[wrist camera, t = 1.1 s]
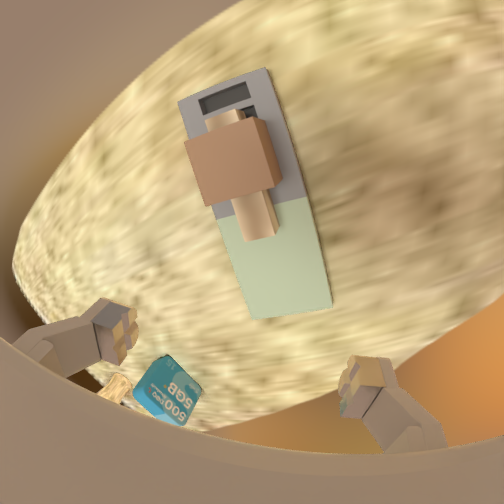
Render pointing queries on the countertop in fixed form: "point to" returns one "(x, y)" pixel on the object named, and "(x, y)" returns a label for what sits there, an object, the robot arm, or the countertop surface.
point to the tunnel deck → (253, 180)
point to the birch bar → (252, 205)
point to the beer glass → (116, 388)
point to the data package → (167, 392)
